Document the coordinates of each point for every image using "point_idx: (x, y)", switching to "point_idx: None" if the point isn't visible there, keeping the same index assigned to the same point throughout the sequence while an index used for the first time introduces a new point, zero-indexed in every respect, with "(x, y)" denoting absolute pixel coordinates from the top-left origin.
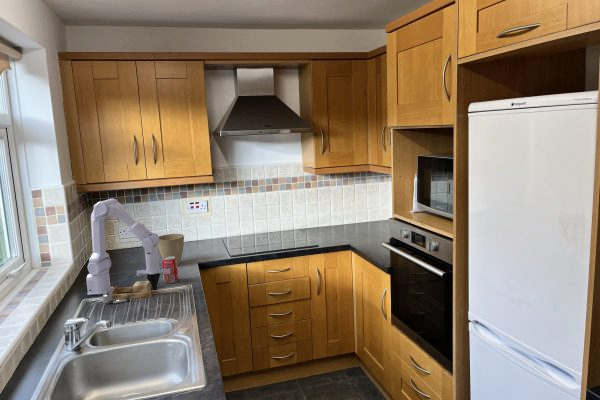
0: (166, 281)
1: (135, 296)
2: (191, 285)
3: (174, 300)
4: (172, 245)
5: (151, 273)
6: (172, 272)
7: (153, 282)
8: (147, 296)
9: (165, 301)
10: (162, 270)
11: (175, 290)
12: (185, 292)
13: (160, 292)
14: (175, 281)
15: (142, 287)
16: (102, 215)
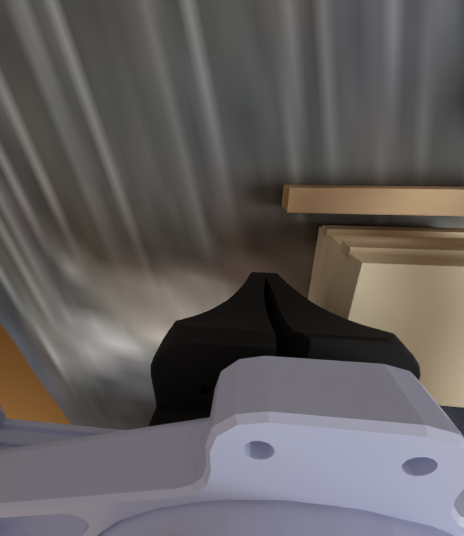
0: None
1: (444, 187)
2: (53, 354)
3: (23, 27)
4: None
5: (329, 395)
6: None
7: (274, 319)
8: (318, 185)
9: (106, 7)
10: (31, 531)
11: (122, 294)
12: (28, 237)
13: (224, 279)
14: None
15: (409, 247)
16: None
